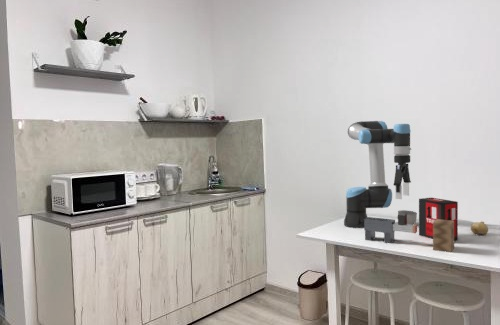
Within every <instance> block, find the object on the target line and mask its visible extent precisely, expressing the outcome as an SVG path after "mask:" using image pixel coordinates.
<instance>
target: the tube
mask: <svg viewBox="0 0 500 325" xmlns="http://www.w3.org/2000/svg"><path fill="white" fill-rule="evenodd" d="M397 217H398V218H397V222H395V223H392V231H395V232H402V233H410V234H416V233H417V232H418V225H417V224H413V225H412V224H407V214H403V213H400V214H399V215H398V214H397Z"/></svg>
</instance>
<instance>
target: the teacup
mask: <svg viewBox="0 0 500 325" xmlns="http://www.w3.org/2000/svg"><path fill="white" fill-rule="evenodd" d="M400 213H403V214H407V224H412V225H416V222H417V215H418V213H417V212H416V211H414V210H404V209H403V210H398V211H397V217H396V218H397V219H398V215H399V214H400Z"/></svg>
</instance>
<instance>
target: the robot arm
mask: <svg viewBox="0 0 500 325" xmlns="http://www.w3.org/2000/svg"><path fill="white" fill-rule="evenodd" d="M347 134H348V136H349V138H350V139H352V140H354V141H355V140H356V141H357V140H358V141H359V144H364V145H368V160H369V176H370V184H368V188H367V187H365V186H355V187H351V188H348V189H347V190H346V195H345V197H346V199H345V200H346V202H345V203H346V214H345V217H344V220H343V225H344V226H345V227H347V228H356V229H357V228H359V229H360V228H362V229H363V228H364V219H365V218H367V217H368V214H367V209H384V208H389V207H390V206H391V204H392V200H393V191H392V189H391V188H389V185H388V184H387V183H386V175H385V173H386V172H385V158H384V156H385V154H384V144H393V154H394V156H393V162H394V163H395V164H396V165H395V171H394V172H395V174H394V181H393V186H395V187H394V188H395V193H394V194H395V199H396V200H402V198H403V196H408V197H409V196H410V183H412V180H411V177H410V170H409V163H410V162H411V155H410V154H411V150H412V148H411V126H410V124H409V123H397V124H396V123H395V124H394V125H393V128H388V124H386V122H385V121H383V120H371V121H370V120H369V121H367V120H366V121H356V122H354V123H352V124H350V126H348V128H347ZM402 181H403V183H402ZM402 195H403V196H402Z"/></svg>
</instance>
